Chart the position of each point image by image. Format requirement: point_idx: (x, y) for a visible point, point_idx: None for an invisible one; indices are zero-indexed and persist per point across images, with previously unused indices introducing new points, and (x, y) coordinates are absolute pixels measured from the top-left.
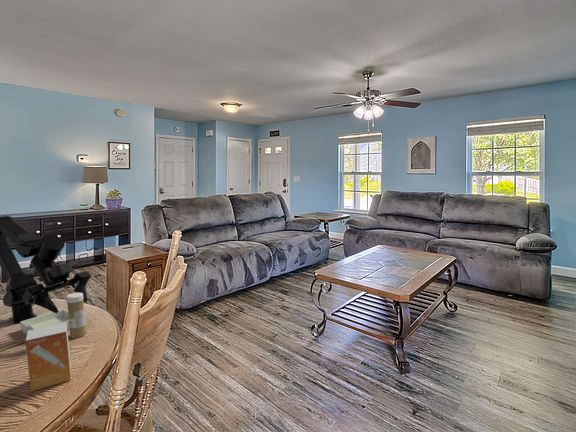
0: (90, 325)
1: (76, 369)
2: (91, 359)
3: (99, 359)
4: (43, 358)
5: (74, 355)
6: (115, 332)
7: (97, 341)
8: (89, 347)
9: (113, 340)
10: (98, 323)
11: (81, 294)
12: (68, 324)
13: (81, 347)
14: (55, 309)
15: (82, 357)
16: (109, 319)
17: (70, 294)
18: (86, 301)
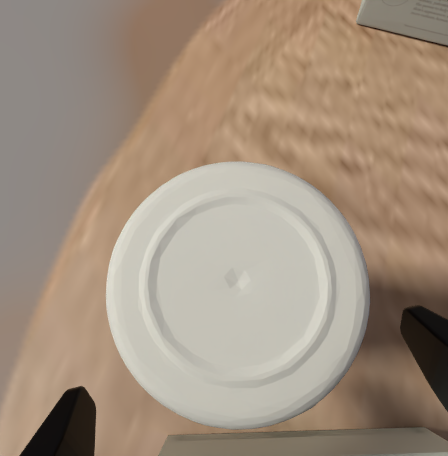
0: (133, 387)
1: (341, 6)
2: (280, 29)
3: (260, 8)
4: None
5: (315, 107)
6: (102, 175)
7: (200, 152)
8: (247, 125)
9: (151, 106)
10: (91, 375)
11: (151, 206)
12: (244, 447)
13: (271, 153)
14: (443, 319)
15: (298, 68)
16: (21, 378)
17: (285, 359)
18: (83, 391)
